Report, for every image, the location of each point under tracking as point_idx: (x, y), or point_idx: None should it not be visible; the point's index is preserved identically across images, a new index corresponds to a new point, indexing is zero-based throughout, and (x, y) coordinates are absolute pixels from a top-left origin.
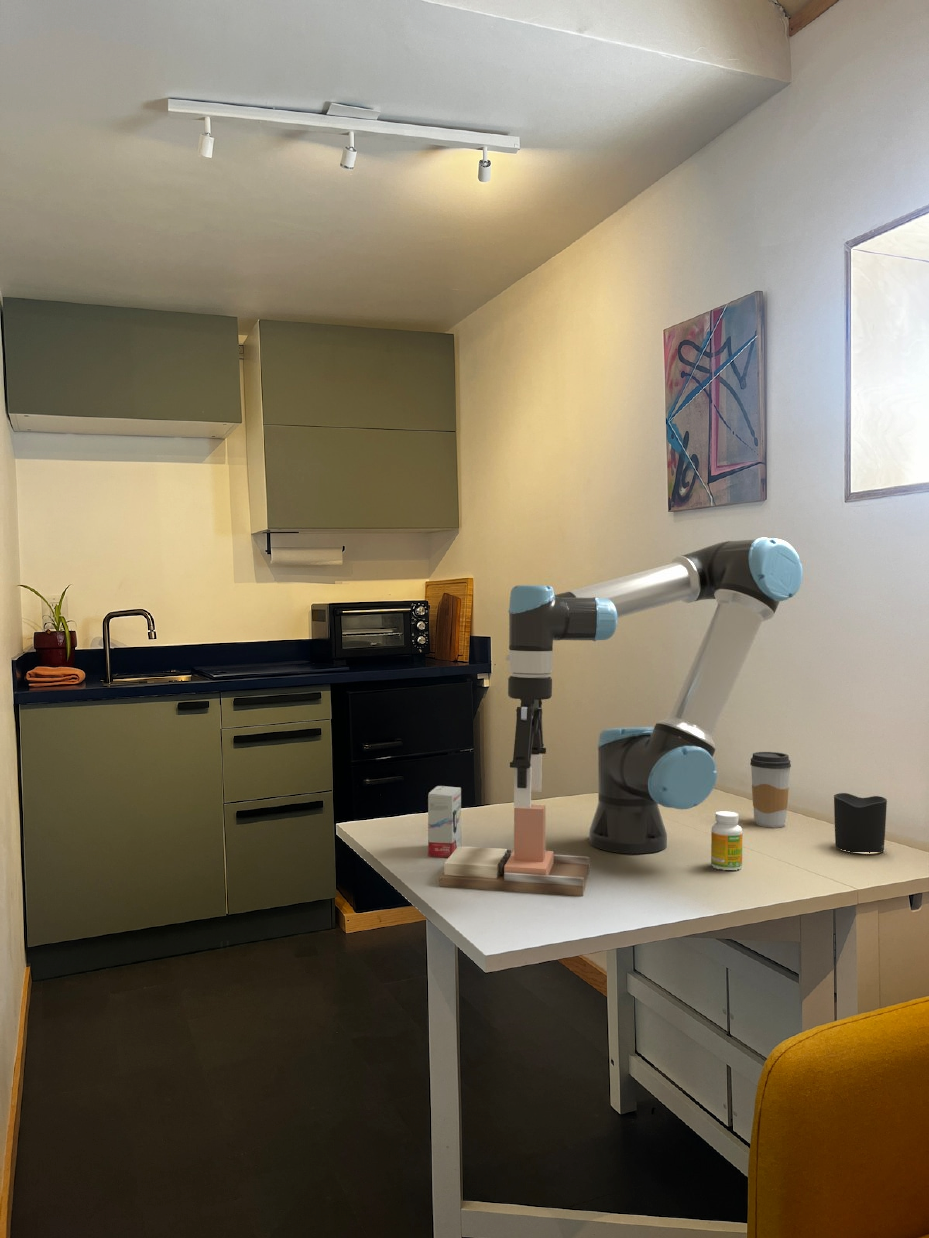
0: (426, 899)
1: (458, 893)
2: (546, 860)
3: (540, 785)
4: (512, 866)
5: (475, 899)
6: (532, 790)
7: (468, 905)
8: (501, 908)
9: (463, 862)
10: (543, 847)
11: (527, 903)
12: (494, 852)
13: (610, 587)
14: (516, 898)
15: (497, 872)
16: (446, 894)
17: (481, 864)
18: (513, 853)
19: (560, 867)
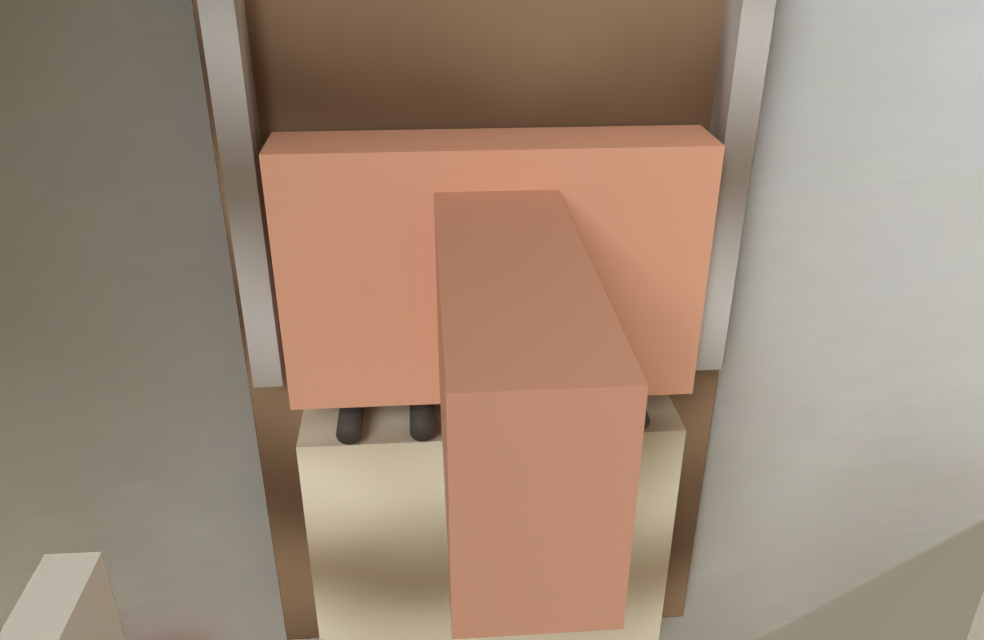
0: (850, 582)
1: (765, 497)
2: (517, 171)
3: (74, 615)
4: (689, 351)
5: (847, 416)
6: (122, 636)
7: (930, 425)
8: (978, 285)
9: (633, 586)
10: (554, 224)
11: (907, 176)
12: (398, 495)
13: None
14: (827, 244)
15: (646, 407)
16: (782, 535)
17: (656, 505)
18: (399, 396)
19: (366, 69)
